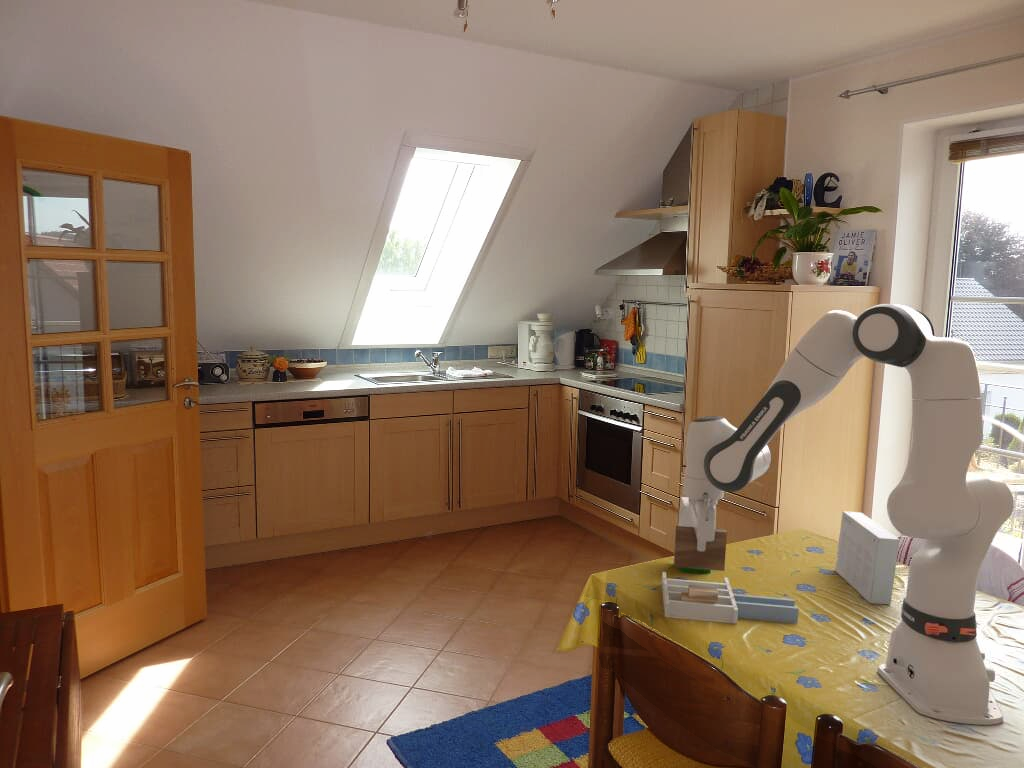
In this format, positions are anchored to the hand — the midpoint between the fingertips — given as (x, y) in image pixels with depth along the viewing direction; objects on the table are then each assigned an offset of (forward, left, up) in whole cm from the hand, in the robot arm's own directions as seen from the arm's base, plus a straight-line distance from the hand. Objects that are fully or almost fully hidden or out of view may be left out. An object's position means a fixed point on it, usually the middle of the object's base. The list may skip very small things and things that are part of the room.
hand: (700, 547), depth 176 cm
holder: (-6, -14, -13) cm, 20 cm away
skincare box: (+18, -41, -13) cm, 47 cm away
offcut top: (-8, 0, -8) cm, 11 cm away
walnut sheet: (0, 0, -5) cm, 5 cm away
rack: (-3, 0, -13) cm, 13 cm away
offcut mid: (-8, +1, -10) cm, 13 cm away
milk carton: (+19, -1, -13) cm, 23 cm away
